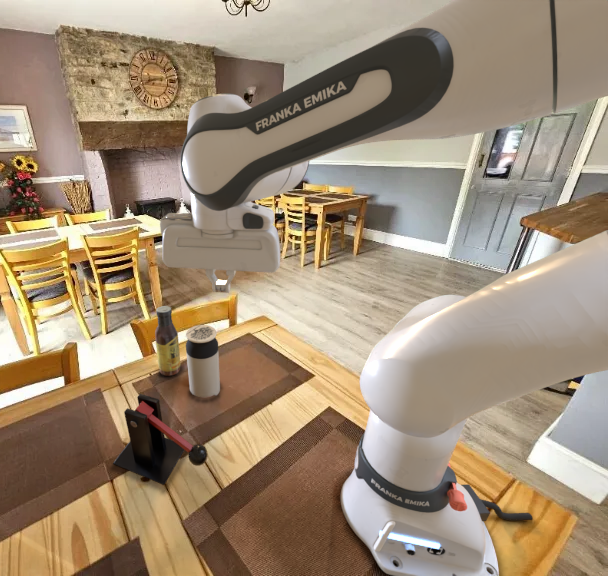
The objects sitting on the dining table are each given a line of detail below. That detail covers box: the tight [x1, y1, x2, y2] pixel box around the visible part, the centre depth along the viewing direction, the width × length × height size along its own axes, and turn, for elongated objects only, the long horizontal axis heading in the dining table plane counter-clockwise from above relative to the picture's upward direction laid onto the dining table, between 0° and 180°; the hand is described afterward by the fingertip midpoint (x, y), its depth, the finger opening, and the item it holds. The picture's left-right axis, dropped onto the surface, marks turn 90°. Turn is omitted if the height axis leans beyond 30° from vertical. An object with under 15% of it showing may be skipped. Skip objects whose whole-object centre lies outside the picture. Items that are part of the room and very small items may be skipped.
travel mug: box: [185, 324, 221, 398], centre depth 79 cm, size 8×8×18 cm
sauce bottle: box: [154, 305, 182, 377], centre depth 86 cm, size 6×6×20 cm
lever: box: [134, 401, 209, 467], centre depth 59 cm, size 16×4×4 cm
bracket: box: [112, 393, 185, 486], centre depth 61 cm, size 12×9×15 cm
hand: (221, 291), depth 56 cm, fingers closed
